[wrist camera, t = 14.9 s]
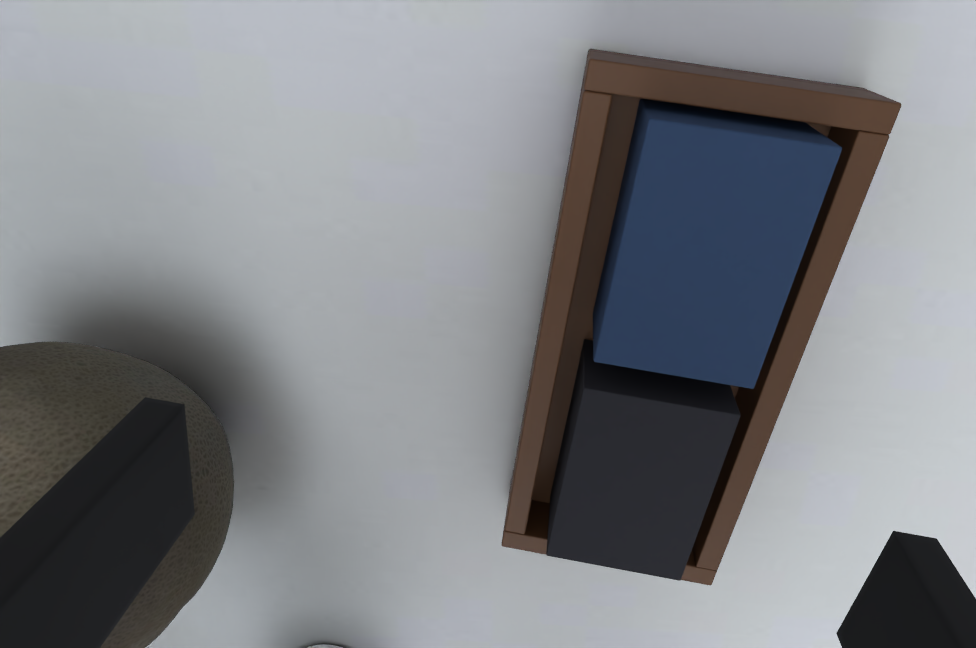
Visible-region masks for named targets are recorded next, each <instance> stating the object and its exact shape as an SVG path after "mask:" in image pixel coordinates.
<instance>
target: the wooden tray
mask: <svg viewBox="0 0 976 648" xmlns="http://www.w3.org/2000/svg"><path fill="white" fill-rule="evenodd" d="M640 99H649V100H655V101H662V102H669V103H676V104H683V105H689V106H696V107H703V108H710V109H717V110H723V111H730V112H737V113H744V114H750V115H757V116H764V117H771V118H778V119H784V120H791V121H798V122H805V123H807V124H808V125H810V126H811V127H813V128H814V129H815V130H817V131H818V132H820V133H821V134H823V135H824V136H826V137H827V138H829V139H830V140H832V141H833V142H835V143H836V144H838V145H839V146H841V147H842V151H841V154H840V156H839V159H838V162H837V164H836V167H835V170H834V173H833V175H832V178H831V181H830V183H829V186H828V189H827V192H826V194H825V197H824V200H823V202H822V205H821V208H820V211H819V213H818V216H817V219H816V221H815V224H814V227H813V230H812V232H811V235H810V238H809V240H808V243H807V246H806V249H805V251H804V254H803V257H802V259H801V262H800V265H799V268H798V270H797V273H796V276H795V278H794V281H793V284H792V286H791V289H790V292H789V295H788V297H787V300H786V303H785V305H784V308H783V311H782V314H781V316H780V319H779V322H778V324H777V327H776V330H775V333H774V335H773V338H772V341H771V343H770V346H769V349H768V352H767V354H766V357H765V360H764V362H763V365H762V368H761V371H760V373H759V376H758V379H757V381H756V384H755V387H754V388H753V389H750V388H744V387H738V386H733V385H730V386H731V389H732V392H733V395H734V398H735V400H736V403H737V406H738V409H739V412H740V415H741V416H740V419H739V422H738V424H737V427H736V430H735V433H734V435H733V438H732V441H731V444H730V446H729V449H728V452H727V455H726V457H725V460H724V463H723V466H722V468H721V471H720V474H719V476H718V479H717V482H716V485H715V487H714V490H713V493H712V496H711V498H710V501H709V504H708V507H707V509H706V512H705V515H704V518H703V520H702V523H701V526H700V529H699V531H698V534H697V537H696V540H695V542H694V545H693V548H692V551H691V553H690V556H689V559H688V562H687V564H686V567H685V570H684V573H683V575H682V578H681V580H685V581H690V582H695V583H701V584H706V585H711V584H712V582H713V579H714V577H715V574H716V572H717V569H718V567H719V564H720V562H721V559H722V557H723V554H724V552H725V549H726V547H727V544H728V542H729V539H730V537H731V534H732V532H733V529H734V527H735V524H736V522H737V519H738V516H739V514H740V511H741V509H742V506H743V504H744V501H745V499H746V496H747V494H748V491H749V489H750V486H751V484H752V481H753V479H754V476H755V474H756V471H757V469H758V466H759V464H760V461H761V459H762V456H763V454H764V451H765V448H766V446H767V443H768V441H769V438H770V436H771V433H772V431H773V428H774V426H775V423H776V421H777V418H778V416H779V413H780V411H781V408H782V406H783V403H784V401H785V398H786V396H787V393H788V391H789V388H790V385H791V383H792V380H793V378H794V375H795V373H796V370H797V368H798V365H799V363H800V360H801V358H802V355H803V353H804V350H805V348H806V345H807V343H808V340H809V338H810V335H811V333H812V330H813V328H814V325H815V322H816V320H817V317H818V315H819V312H820V310H821V307H822V305H823V302H824V300H825V297H826V295H827V292H828V290H829V287H830V285H831V282H832V280H833V277H834V275H835V272H836V270H837V267H838V265H839V262H840V259H841V257H842V254H843V252H844V249H845V247H846V244H847V242H848V239H849V237H850V234H851V232H852V229H853V227H854V224H855V222H856V219H857V217H858V214H859V212H860V209H861V207H862V204H863V202H864V199H865V196H866V194H867V191H868V189H869V186H870V184H871V181H872V179H873V176H874V174H875V171H876V169H877V166H878V164H879V161H880V159H881V156H882V154H883V151H884V149H885V146H886V144H887V141H888V139H889V135H888V134H890V133H891V130H892V128H893V125H894V123H895V120H896V118H897V115H898V113H899V110H900V108H901V103H899V102H896V101H894V100H891V99H889V98H886V97H884V96H882V95H879V94H877V93H874V92H871V91H869V90H867V89H864V88H859V87H852V86H845V85H838V84H831V83H824V82H817V81H810V80H803V79H796V78H789V77H782V76H775V75H768V74H761V73H754V72H747V71H740V70H733V69H726V68H719V67H712V66H705V65H699V64H692V63H685V62H678V61H671V60H664V59H657V58H650V57H643V56H636V55H629V54H622V53H615V52H608V51H601V50H594V49H589V51H588V55H587V61H586V66H585V72H584V77H583V83H582V89H581V94H580V100H579V105H578V111H577V117H576V122H575V128H574V133H573V139H572V145H571V150H570V156H569V161H568V167H567V173H566V178H565V184H564V190H563V195H562V201H561V206H560V212H559V218H558V223H557V229H556V234H555V240H554V246H553V251H552V257H551V262H550V268H549V274H548V279H547V285H546V291H545V296H544V302H543V307H542V313H541V319H540V324H539V330H538V335H537V341H536V347H535V352H534V358H533V363H532V369H531V375H530V380H529V386H528V391H527V397H526V403H525V408H524V414H523V420H522V425H521V431H520V436H519V442H518V448H517V453H516V459H515V464H514V470H513V476H512V481H511V487H510V492H509V498H508V505H507V511H506V518H505V525H504V531H503V538H502V546H504V547H509V548H514V549H520V550H525V551H530V552H535V553H541V554H546V551H547V537H548V522H549V508H550V494H551V490H552V485H553V481H554V476H555V471H556V467H557V462H558V457H559V453H560V448H561V444H562V439H563V434H564V430H565V425H566V420H567V416H568V411H569V407H570V402H571V397H572V393H573V388H574V383H575V379H576V374H577V370H578V365H579V360H580V356H581V351H582V346H583V342H584V339H587V340H593V310H594V306H595V301H596V297H597V292H598V288H599V283H600V278H601V274H602V269H603V265H604V260H605V256H606V251H607V247H608V242H609V238H610V233H611V229H612V224H613V219H614V215H615V210H616V206H617V201H618V197H619V192H620V188H621V183H622V179H623V174H624V169H625V165H626V160H627V156H628V151H629V147H630V142H631V138H632V133H633V129H634V124H635V119H636V115H637V110H638V106H639V101H640Z"/></svg>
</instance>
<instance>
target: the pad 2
mask: <svg viewBox="0 0 976 648" xmlns="http://www.w3.org/2000/svg"><path fill="white" fill-rule="evenodd" d="M740 416H741V415H740V412H739V409H738V406H737V403H736V400H735V398H734V395H733V392H732V389H731V386H730V385H727V384H721V383H715V382H709V381H703V380H698V379H692V378H686V377H680V376H674V375H668V374H663V373H657V372H651V371H645V370H639V369H633V368H628V367H622V366H616V365H610V364H604V363H598V362H594V360H593V340H587V339H584V342H583V346H582V351H581V356H580V360H579V365H578V370H577V374H576V379H575V383H574V388H573V393H572V397H571V402H570V407H569V411H568V416H567V420H566V425H565V430H564V434H563V439H562V444H561V448H560V453H559V457H558V462H557V467H556V471H555V476H554V481H553V485H552V490H551V494H550V508H549V522H548V537H547V551H546V555H547V556H552V557H558V558H563V559H568V560H574V561H579V562H584V563H590V564H595V565H600V566H605V567H611V568H616V569H621V570H627V571H632V572H637V573H643V574H648V575H653V576H659V577H664V578H669V579H675V580H681V578H682V575H683V573H684V570H685V567H686V564H687V562H688V559H689V556H690V553H691V551H692V548H693V545H694V542H695V540H696V537H697V534H698V531H699V529H700V526H701V523H702V520H703V518H704V515H705V512H706V509H707V507H708V504H709V501H710V498H711V496H712V493H713V490H714V487H715V485H716V482H717V479H718V476H719V474H720V471H721V468H722V466H723V463H724V460H725V457H726V455H727V452H728V449H729V446H730V444H731V441H732V438H733V435H734V433H735V430H736V427H737V424H738V422H739V419H740Z"/></svg>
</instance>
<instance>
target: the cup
mask: <svg viewBox="0 0 976 648" xmlns="http://www.w3.org/2000/svg"><path fill="white" fill-rule="evenodd" d="M307 648H343V647H340V646H335V645H327V644H321V645H314V646H309V647H307Z"/></svg>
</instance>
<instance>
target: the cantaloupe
mask: <svg viewBox="0 0 976 648" xmlns="http://www.w3.org/2000/svg"><path fill="white" fill-rule="evenodd" d="M145 397H147V398H153V399H158V400H164V401H169V402H175V403H180V404H185V415H186V425H187V436H188V447H189V457H190V468H191V478H192V489H193V500H194V510H195V515H194V516H193V518H192V519H191V520H190V522H189V523H188V525H187V526H186V528H185V529H184V530H183V532H182V533H181V535H180V536H179V537H178V539H177V540H176V542H175V543H174V544H173V546H172V547H171V549H170V550H169V551H168V553H167V554H166V556H165V557H164V558H163V560H162V561H161V563H160V564H159V565H158V567H157V568H156V570H155V571H154V573H153V574H152V575H151V577H150V578H149V580H148V581H147V582H146V584H145V585H144V587H143V588H142V589H141V591H140V592H139V594H138V595H137V596H136V598H135V599H134V601H133V602H132V603H131V605H130V606H129V608H128V609H127V610H126V612H125V613H124V615H123V616H122V618H121V619H120V620H119V622H118V623H117V625H116V626H115V627H114V629H113V630H112V632H111V633H110V634H109V636H108V637H107V639H106V640H105V641H104V643H103V644H102V646H101V647H100V648H145V647H146V646H148V645H149V644H150V643H151V642H152V641H153V640H154V639H156V638H157V637H158V636H159V635H160V634H161V633H162V632H163V631H164V630H165V628H166V627H167V626H168V625H169V624H170V623H171V621H172V620H173V619H174V618H175V616H176V615H177V614H178V612H179V611H180V610H181V609H182V607H183V606H184V605H185V604H186V603H187V602H188V601H189V600H190V599H191V598H192V597H193V596H194V595H195V594H196V593H197V592H198V590H199V589H200V588H201V586H202V585H203V583H204V581H205V580H206V578H207V577H208V575H209V573H210V572H211V570H212V569H213V567H214V565H215V562H216V560H217V558H218V556H219V554H220V552H221V550H222V547H223V544H224V542H225V539H226V535H227V531H228V528H229V523H230V519H231V514H232V507H233V491H234V479H233V465H232V458H231V453H230V448H229V444H228V441H227V438H226V435H225V432H224V430H223V427H222V425H221V423H220V422H219V420H218V419H217V417H216V416H215V414H214V413H213V411H212V410H211V409H210V407H209V406H208V405H207V404H206V403H205V402H204V401H203V400H202V399H201V398H200V397H199V396H198V395H197V394H196V393H195V392H194V391H192V390H191V389H190V388H189V387H188V386H187V385H185V384H184V383H183V382H181V381H180V380H179V379H177V378H176V377H175V376H173V375H171V374H170V373H168V372H167V371H165V370H163V369H161V368H159V367H157V366H155V365H153V364H151V363H149V362H147V361H144V360H141V359H138V358H135V357H132V356H129V355H127V354H123V353H119V352H115V351H112V350H108V349H104V348H100V347H96V346H90V345H83V344H76V343H68V342H35V343H27V344H18V345H10V346H4V347H0V537H1V536H2V535H3V534H4V533H6V532H7V531H8V530H9V529H10V528H11V527H12V526H13V525H14V524H15V523H16V522H17V521H18V520H19V519H20V518H21V517H22V516H23V515H24V514H25V513H26V512H27V511H28V510H29V509H30V508H31V507H32V506H33V505H34V504H35V503H36V502H37V501H38V500H40V499H41V498H42V497H43V496H44V495H45V494H46V493H47V492H48V491H49V490H50V489H51V488H52V487H53V486H54V485H55V484H56V483H57V482H58V481H59V480H60V479H61V478H62V477H63V476H64V475H65V474H66V473H67V472H68V471H69V470H70V469H71V468H72V467H74V466H75V465H76V464H77V463H78V462H79V461H80V460H81V459H82V458H83V457H84V456H85V455H86V454H87V453H88V452H89V451H90V450H91V449H92V448H93V447H94V446H95V445H96V444H97V443H98V442H99V441H100V440H101V439H102V438H103V437H104V436H105V435H107V434H108V433H109V432H110V431H111V430H112V429H113V428H114V427H115V426H116V425H117V424H118V423H119V422H120V421H121V420H122V419H123V418H124V417H125V416H126V415H127V414H128V413H129V412H130V411H131V410H132V409H133V408H134V407H135V406H136V405H137V404H138V403H139V402H141V401H142V400H143V399H144V398H145Z"/></svg>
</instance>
